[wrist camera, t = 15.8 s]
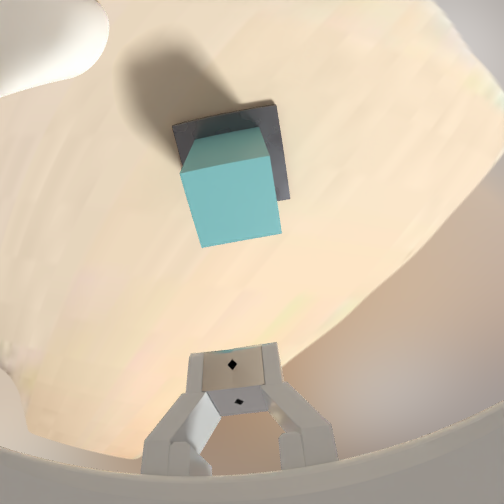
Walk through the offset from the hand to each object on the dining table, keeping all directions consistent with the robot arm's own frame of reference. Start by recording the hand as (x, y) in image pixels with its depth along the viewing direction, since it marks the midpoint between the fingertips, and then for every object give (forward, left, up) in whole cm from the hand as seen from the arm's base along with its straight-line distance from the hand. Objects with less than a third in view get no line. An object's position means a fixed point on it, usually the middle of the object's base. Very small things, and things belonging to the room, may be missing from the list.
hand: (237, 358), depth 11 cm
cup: (-12, +16, -21) cm, 29 cm away
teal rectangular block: (0, 0, -20) cm, 21 cm away
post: (0, 0, -21) cm, 21 cm away
